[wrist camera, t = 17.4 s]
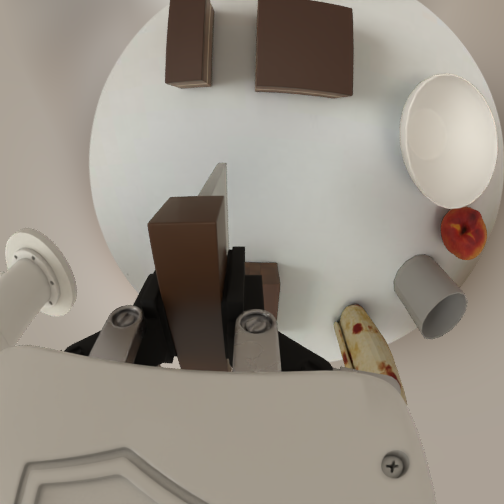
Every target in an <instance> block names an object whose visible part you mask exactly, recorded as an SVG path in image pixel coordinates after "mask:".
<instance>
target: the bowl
mask: <svg viewBox="0 0 504 504" xmlns="http://www.w3.org/2000/svg"><path fill="white" fill-rule="evenodd" d="M399 128H400V147H401V151H402V156H403V161H404V163H405V166H406V168H407V170H408V172H409V175H410V177H411V179H412V181H413V182H414V183H415V185H416V186H417V187H418V189H419V190H420V191H421V193H422V194H423V195H424V196H426V197H427V198H428V199H429V200H431V201H432V202H433V203H435V204H436V205H438V206H441V207H444V208H447V209H456V208H462V207H464V206H467V205H469V204H471V203H472V202H474V201H475V200H476V199H477V198H478V197H480V196H481V194H482V193H483V192H484V190H485V189H486V187H487V186H488V184H489V182H490V180H491V178H492V175H493V173H494V170H495V165H496V161H497V154H498V137H497V130H496V124H495V121H494V118H493V115H492V112H491V109H490V107H489V106H488V104H487V102H486V100H485V98H484V97H483V95H482V94H481V93H480V92H479V91H478V90H477V88H476V87H475V86H474V85H473V84H471V83H470V82H468V81H467V80H466V79H464V78H463V77H460V76H456V75H453V74H450V73H449V74H438V75H434V76H431V77H429V78H427V79H426V80H424V81H422V82H420V83H419V84H418V85H417V87H416V88H415V89H414V90H413V91H412V93H411V94H410V95H409V96H408V99H407V101H406V103H405V106H404V108H403V110H402V116H401V121H400V127H399Z"/></svg>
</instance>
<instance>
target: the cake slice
mask: <svg viewBox="0 0 504 504" xmlns="http://www.w3.org/2000/svg"><path fill="white" fill-rule="evenodd" d="M213 25H214V10H213V7H212V5H211V3H210V0H170V7H169V17H168V30H167V45H166V69H165V83H166V84H169V85H172V86H175V87H178V88H194V87H211V80H212V47H213Z"/></svg>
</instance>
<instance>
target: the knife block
mask: <svg viewBox="0 0 504 504" xmlns="http://www.w3.org/2000/svg"><path fill="white" fill-rule="evenodd" d="M245 275H262V282H263V297H264V310H265V311H268V312H269V313H271V314H272V315H273V316H274V317H275V318H276V321H277V311H278V302H279V292H280V279H279V273H278V267H277V263H256V262H245Z"/></svg>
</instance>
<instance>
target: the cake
mask: <svg viewBox="0 0 504 504" xmlns="http://www.w3.org/2000/svg"><path fill="white" fill-rule="evenodd" d="M255 91H256V92H277V93H291V94H302V95H312V96H320V97H328V98H340V97H348V96H352V95H353V13H352V8H348V7H344V6H339V5H334V4H329V3H324V2H318V1H312V0H258V10H257V39H256V76H255Z"/></svg>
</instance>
